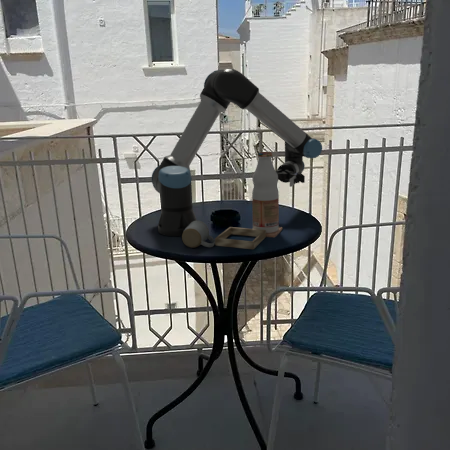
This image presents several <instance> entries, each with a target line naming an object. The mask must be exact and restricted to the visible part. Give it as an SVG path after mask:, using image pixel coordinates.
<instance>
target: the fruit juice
mask: <svg viewBox="0 0 450 450" xmlns="http://www.w3.org/2000/svg"><path fill="white" fill-rule="evenodd" d="M257 158H258V161H257V164H256V167H255V171H254V173H253V174H252V179H251V180H252V184H253V188H252V192H251V193H252V195H251V199H252V201H251V202H252V205H251V207H252V209H251V211H252V229H259V230H266V233H273V232H276V231H278V228H279V227H280V226H279V225H280V222H279V221H280V219H279V218H280V213H279V212H280V211H279V210H280V208H279V203H280V202H279V201H280V200H279V198H280V194H279V188H278V183H279V180H278V174H277V172H276V171H277V170H276V169H275V167H274V164H273V161H272V159H273V152H271V151H262V152H258V153H257Z"/></svg>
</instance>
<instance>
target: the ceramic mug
mask: <svg viewBox="0 0 450 450" xmlns="http://www.w3.org/2000/svg"><path fill="white" fill-rule="evenodd" d="M181 239H182V243H183V244H184V245H185V246H186V247H188V248H190V249H191V248H192V249H195V248H198V247H200V246H203V247H206V248H213V247H214V246H215V238H214V237H213V236H211V235H210V230H209V227H208V225H207V224H206V223H205V222H203V221H201V220H198V219H197V221H193V222H191V223H190V224H189V225H188V227H187V228H186V229H185V230H184V231H183V234H182V236H181ZM206 240H209V241H210V243H209V242H207V241H206Z"/></svg>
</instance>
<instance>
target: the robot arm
mask: <svg viewBox="0 0 450 450" xmlns="http://www.w3.org/2000/svg"><path fill="white" fill-rule="evenodd" d="M199 99H200V102H199V104H198V105H197V107H196V109H195V111H194V112H193V115H192V116H191V118H190V120H189V121H188V123H187V125H186V126H185V128H184V130H183V131H182V134H181V135H180V137H179V139H178V141H177V142H176V144H175V146H174V148H173V149H172V151H171V153H170V154H169V155H165V156H163V159H162V160H161V162H160V164H159V165H158V166H156V167H155V169H154V170H153V171H152V174H151V183H152V187H153V188H154V190H155V191H156V192H157V193H158V194H159V195H160V196H159V197H160V198H159V199H160V209H161V210H160V211H161V212H160V216H159V220H158V224H157V230H158V234H160V235H163V236H167V237H182V234H183V231H184V230H185V229H186V228H187V227H188V225H189V224H190V223H191V222H193V221H197V220H198V219H197V217H196V214H195V211H194V208H193V189H192V181H193V180H192V179H193V177H192V175H191V168H190V165H191V163H192V162H193V160H194V159H195V157H196V155H197V153H198V152H199V150H200V148H201V146H202V145H203V143H204V141H205V139H206V138H207V135H208V134H209V132H210V130H211V129H212V127H213V126H214V123H215V122H216V120H217V118H218V117H219V115H220V113H223V112H226V111H227V109H228V107H229V106H230V103H232V104H234V105H236V106H237V107H238V108H239V109H241V110H246V111H247V112H249V113H250V114H251V115H253V116H254V117H255V118H256V119H258V120H259V121H260V122H261V123H263V125H265V126H266V127H267V128H268V129H270V130H271V131H272V132H273V133H275V134H276V135H277V136H278V137H280V138H281V139H282V140H283V141H284V163H282V164H280V165H279V166H278V167H277V169H276V170H275V171H276V172H277V174H278V181H280V182H282V183H287V184H288V183H289V187H291V188H292V187H293V186H294V185H296V184H300V183H302V184H304V183H305V175H304V174H303V171H304V169H305V167H306V166H305V163H304V160H303V157H304V158H305V159H306V158H307V159H316V158H318V157H319V156H321V153H322V152H323V144H322V143H321V141H320V140H318V139H317V138H312V137H311V135H309V134H308V133H306V131H304V130H303V129H302V128H301V127H300V126H299V125H297V123H295V122H294V121H293V120H292V119H290V118H289V117H288V116H287V115H286V114H285V113H283V112H282V110H280V109H279V108H278V107H277V106H275V105H274V104H273V103H272V102H271V101H270V100H268V98H266V96H264V95H262V94H261V93H260V89H259V87H258V86H257V85H255V84H254V83H253V82H252V81H251V80H250V79H249V78H248V77H247V76H245V75H244V74H243V73H242V72H240V71H239V70H237V69H234V68H225V69H217V70H214V71H212V72H211V73H209V74H208V75H207V77H206V78H205V80H204V82H203V89H202V90H201V92H200V94H199Z"/></svg>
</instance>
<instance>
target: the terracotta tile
mask: <svg viewBox="0 0 450 450" xmlns="http://www.w3.org/2000/svg"><path fill="white" fill-rule="evenodd" d="M282 230H283V227H282V226H279V228H278V231H276V232H273V233H266V237H265V238H276V237H277V236H278V235H279V234H280V233H281V232H282Z"/></svg>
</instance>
